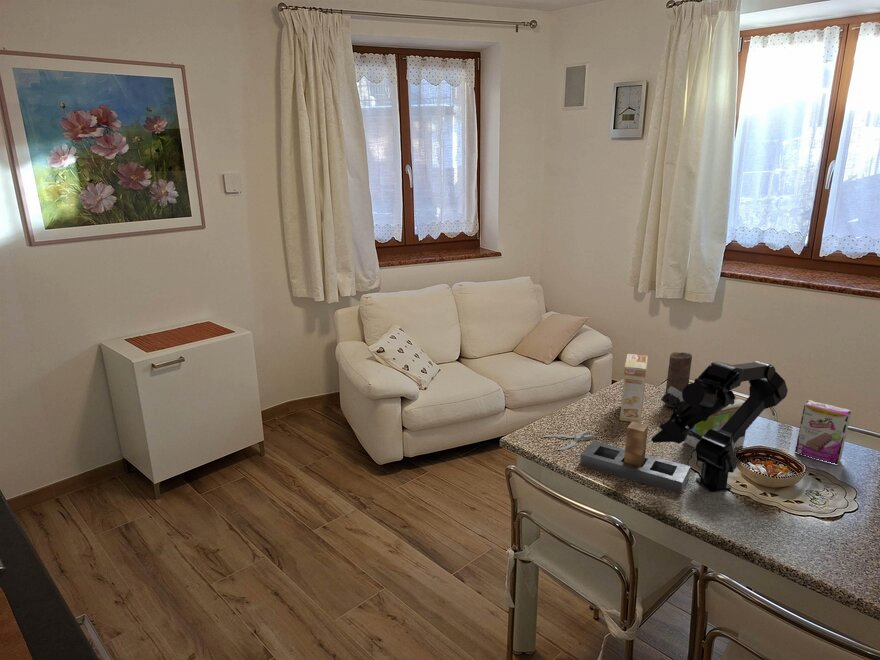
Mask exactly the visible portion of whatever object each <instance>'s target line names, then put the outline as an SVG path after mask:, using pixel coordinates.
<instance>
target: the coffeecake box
mask: <svg viewBox="0 0 880 660" xmlns="http://www.w3.org/2000/svg"><path fill="white" fill-rule="evenodd" d="M648 360H649V359H648V355H644V354H635V353H627V354H626V359H625V363H624V373H623V382H622V383H623V384H622V394H621V395H622V396H621V404H620V405H621V407H620V415H619V420H620V421H624V422H630V423H631V422H636V423H640V424H642V416H643V410H644V409H643V407H644V401H645V400H644V399H645V391H646V383H647V381H646V379H647V369H648Z"/></svg>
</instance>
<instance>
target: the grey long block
mask: <svg viewBox="0 0 880 660" xmlns="http://www.w3.org/2000/svg"><path fill="white" fill-rule="evenodd" d="M579 457H580V458H579V460H580V461H579V466H581V465H582V467H585V466H586V468H588V469H592V470H596V471H599V472H603V473H607V474H610V475H614V476H616V477H621V478H624V479H627V480H630V481H634V482H636V483H641V484H645V485H648V486H651V487H655V488H659V489H662V490H665V491H669V492H672V493H676V494H679V495H681V494H682V493H683V491H684V489H685V487H686V485H687V482H688V481H689V479H690V472H691V465H687V464H683V463H679V462H675V461H672V460H667V459H663V458H661V457H660V458H659V457H656V456H652V455H648V454H645V461H644V466H643V467H638V466H634V465H631V464H627V463H624V457H625V448H622V447H618V446H614V445H610V444H606V443H603V442H598V441H595V440H592V441H591V442H590V443H589V444H588V445H587V446H586V448H584V450H583V451H582V452H581V453H580V456H579Z"/></svg>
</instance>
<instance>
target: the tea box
mask: <svg viewBox="0 0 880 660" xmlns="http://www.w3.org/2000/svg"><path fill="white" fill-rule="evenodd" d="M745 401H746V400H742V399H741V398H739V397H736V398H735V400H734V404H733V405H731V404H729V405H728V406H727V407H725V408H723V409H722V410H720V411H718V412H716V413H715V414H713V415H711V416H709V417H708V419H707V420H706V421H704V422H703V420H702V421H701V422H699V423H697V424H695V426H694V428H692V429H690V428H689V427H688V426H686V427H685V428H686V429H687V430H688V436H687V438H686V439H685V441H683V442H684V443H685V444H688V445H689V446H691V447H693V448H694V449H696V445H697V443H698V442H699V441H700V440H701V437H703V436H704V435H705V434H706V432H707V431H708V430H710V429H713V430H715V431H718V430H720V429H721V428H722V427H723V425H724V424H725V423H726V422H727V421H728V420H729V419H730V418H731V416H732V415H733V414H734V413H735V412H736V411H737V410H738V409H739V407H740V406H741V405H742V404H743V403H744V402H745ZM746 432H747V430H746V431H745V432H744V433H743V434H742V436H741V437H740V438H739V439H738V440H737V441H736V443H735V444H734V447H737V448H741V447H740V446H742V447H744V442H745V438H746Z"/></svg>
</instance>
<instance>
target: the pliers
mask: <svg viewBox="0 0 880 660" xmlns="http://www.w3.org/2000/svg"><path fill="white" fill-rule="evenodd" d="M541 437H542V438H541V439H545V438H544V437H552V438H556V437H558V438H557V439H559V438H561V437H564V438H561V439H560V440H562V439H567V438H574V439H572V441H571V442H569V441H570V440H567V441H566V445H565V446H563V447H560V448H556V449H555V451H556V450H562V451H564V450H563V449H567V450H569V449H568V448H570V449H571V447H572V448H574V447H575V446H576V445H577V444H578V443H579V442H580V440H582V442H583V441H589V440H593V439H594V435H593V434H589V431H588V430H585V431H581V432H577V433H574V435H567V434H566V435H565V434H548V435H543V436H541ZM578 441H579V442H578ZM568 442H569V443H570V444H569V443H568ZM574 445H575V446H574ZM573 446H574V447H573Z"/></svg>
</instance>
